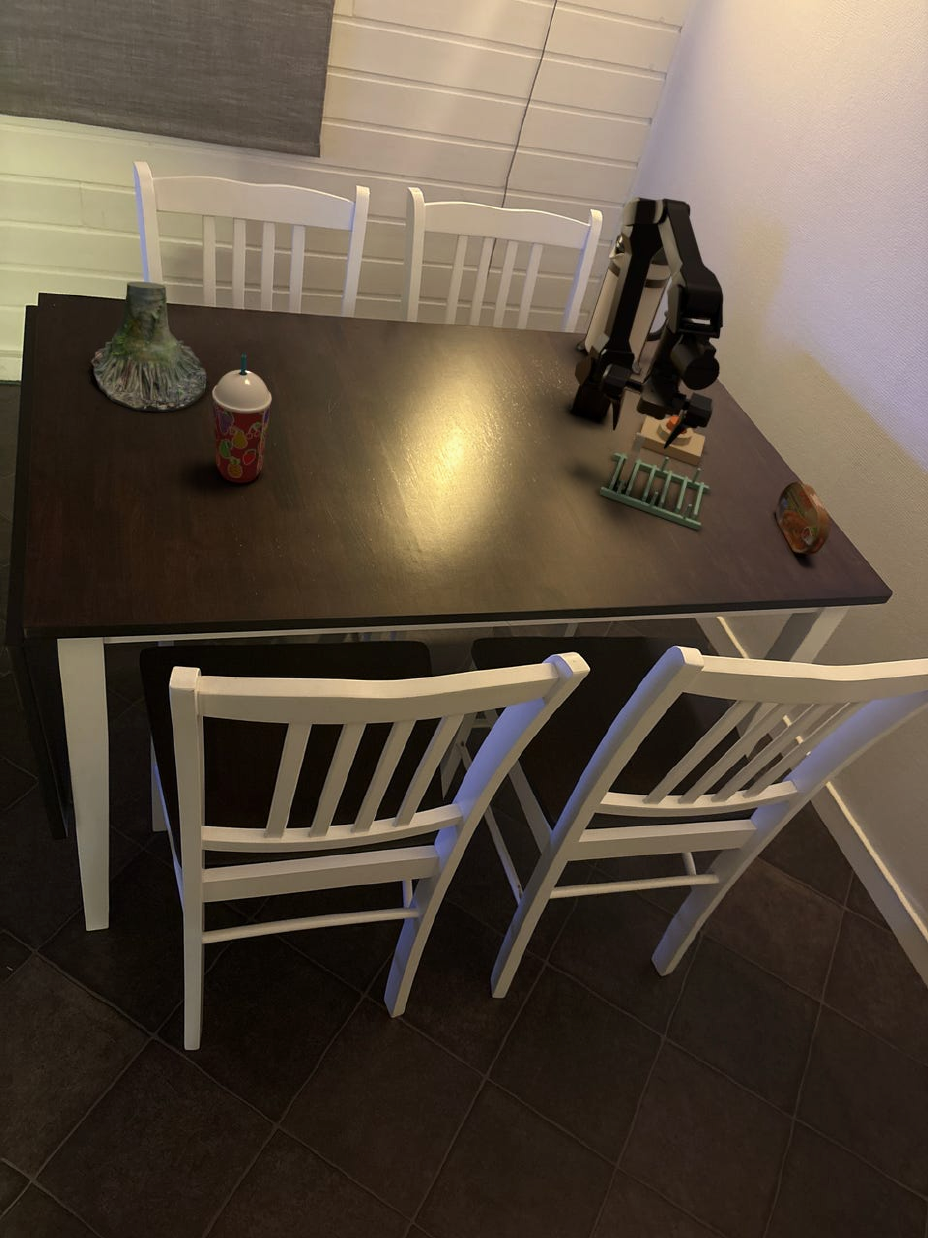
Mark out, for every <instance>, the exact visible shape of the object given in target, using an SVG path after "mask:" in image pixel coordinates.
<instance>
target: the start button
mask: <svg viewBox="0 0 928 1238" xmlns="http://www.w3.org/2000/svg"><path fill="white" fill-rule="evenodd" d="M669 418H670V420H669V422H668V425H667V428H668V429H669V430H670V431H671V430H672V429H673V427H674V425H675V423H676V422H677V420H678V418H679V416H670V417H669ZM685 431H686V430H685ZM685 431H683V432H682V433H681V434H684V433H685Z"/></svg>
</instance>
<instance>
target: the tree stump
mask: <svg viewBox="0 0 928 1238" xmlns="http://www.w3.org/2000/svg"><path fill="white" fill-rule="evenodd" d="M125 295H126V296H125V299H124V307H123V314H122V319H121V323H120V326H119V327H118V328H117V329H116V331H115V332H114V334H113V337H112V338H111V341H106V342H105V347H103V348H99V349H98V350H97V351H95V353H94V358H92V359H90V363H91V365H92V366H93V367H92V370H93V375H94V377H95V380H96V382H97V385H98V388H99V389H100V391H102V392H103V394H105V395H106V396H107V398H108V399H110V401H111V402H113V403H116V404H119V405H121V406H123V407H127V408H129V409H132V410H135V411H140V412H158V413H167V412H174V411H175V412H176V411H179V410H183V409H186V408H188V407H190V406H192V405H194V404H195V403H196V402H197V401H198V400H199V399H200V398H201V397H203V395H204V394H205V392H206V386H207V372H206V370H205V368H204V366H203V364H202V362H201V359H200V358H198V356H196V355H195V352H194V351H193V348H192V347H191V346H188V345H185V344H184V340H177V338H176V337H175V336H174V335H173V333H171V329H170V325H169V319H168V304H167V300H168V299H167V286H166V285H164V284H161V283H156V282H149V281H128V282H126V294H125Z"/></svg>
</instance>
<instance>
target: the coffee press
mask: <svg viewBox="0 0 928 1238" xmlns="http://www.w3.org/2000/svg"><path fill="white" fill-rule="evenodd" d="M624 254H625V247H624V243H623V240H622V236H621V233H619V234H618V235H617V236H616V239H615V242H614V246H613V248H612V250H611V251H610V252H609V255H608V259H609V263H608V266H607V269H606V273H605V276H604V279H603V281H602V285H601V287H600V291H599V293H598V298H597V300H596V303H595V306H594V309H593V312H592V315H591V319H590V321H589V325H588V328H587V331H586V333H585V337H584V338H583V339H582V340H580V341H579V342H578V343H577V344H576V349H577V350H578V351H583V350H586V352H587V353H588V354H589V352H590V349H591V346H592V344H593V343H594V342H595V341H596V340H597V339H598V338H599V337H600V336H601V335H602V334H603V333H604V330H605V326H606V323H607V319H608V315H609V311H610V307H611V304H612V300H613V296H614V292H615V288H616V285H617V281H618V277H619V273H620V269H621V266H622V262H623V258H624ZM670 279H671V272H670V269H669V265H668V261H667V257H666V254H665V250H664V246H663V247H662V248H661V250H660V251H659V252H658V253H657V254H656V255H655V256H654V257H653V258H652V260H651V264H650V267H649V271H648V275H647V278H646V282H645V285H644V289H643V292H642V296H641V300H640V303H639V307H638V310H637V314H636V317H635V321H634V325H633V328H632V332H631V335H630V339H629V342H630V346H631V349H632V352H633V353H634V354H635V360H634V362H633V365H632V373H634V374H636V375H638V374H640V373H641V372H642V370H643V366H642V363H641V358H642V354H643V353H644V349H645V347H646V345H647V343H648V342H649V343H652V342H657V341H659V340H660V338H661V335H662V333H663V330H664V327H665V325H666V322H667V318H666V317H665V320H664V322H663V324H662V325H661V327H660V328H659V329H658V330H655V331H654V332H651V330H652V329H653V325H654V322H655V320H656V317H657V314H658V312H659V309H660V307H661V303H662V301H663V298H664V297H665V293H666V291H667V287H668V286H669V282H670ZM583 342H584V345H585V346H583V347H582V346H581V345H580V344H581V343H583ZM636 363H637V366H638V369H639V370H637V369H636V366H635V365H634V364H636Z"/></svg>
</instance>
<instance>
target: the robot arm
mask: <svg viewBox="0 0 928 1238" xmlns="http://www.w3.org/2000/svg"><path fill="white" fill-rule="evenodd" d="M691 210H692V209H691V206H690V204H689V203H687V202H686V201H682V200H677V199H670V198H662V199H651V198H646V197H640V196H634V197H633V198H632V199H631V201H629V202H627V203H626V204H625V205H624V207H623V210H622V213H621V228H620V234H621V236H622V240H623V243H624V247H625V254H624V258H623V262H622V266H621V269H620V273H619V277H618V281H617V285H616V288H615V292H614V296H613V300H612V304H611V307H610V311H609V315H608V319H607V323H606V326H605V330H604V333H603V334H602V335H601V336H600V337H599V338H598V339H597V340H596V341H595V342H594V343H593V344H592V346H591V349H590V352H589V353H588V355H587V356H586V357H584V358H583V359H582V360H580V361H579V362H577V363H576V365H575V369H574V370H575V371H574V377H575V379H576V381H577V383H578V384H579V385H578V388H577V391H576V394H575V397H574V400H573V403H572V405H571V406H570V408H569V412H570V413H571V414H573V415H577V416H578V417H582V418H585V419H587V420H591V421H593V422H596V423H599V424H600V423H602V421H603V419H604V418H606V417H607V416H608V414H609V411H610V408H612V409H611V410H612V431H616V429H617V427H618V423H619V421H620V418H621V413H622V409H623V407H624V406H623V405H624V401H625V397H626V393H627V391H628V392H630V393H634V394H637V395H638V396H639V400H638V402H637V405H636V411H637V413H638V414H641V415H645V416H648V417H651V418H654V419H657V420H659V421H661V420H663V419H666V416H667V415H668V416H670V417H674V416H676V417H679V418H678V420H677V422H676V423H675V425H674V427H673V429H672V430H671V432H670V434H669V436H668V438H667V440H666V443H665V445H664V449H666V448H667V447H668V446H669V445H670V444H671V443H672V442H673V441H674V440H675V439H676V438H677V437H678V436H679V435H680V434H681V433H682V432H683V431H685V430H686V429H688V428H691V429H692V430H693V429H694V430H695V429H698V427H699V428H705V429H706V428H707V426H708V424H709V422H710V420H711V418H712V415H713V412H714V406H715V402H714V399H713V398H710V397H707V396H705V395H703V394H700V393H696V392H692V394H691V396H690V398H687V397H688V395H687V394H685V393H682V392H681V390H680V387H681V383H682V382H683V384H684V385H685V387H686V388H688V389H689V390H691V391H702V390H705V389H707V388H709V387H710V386H712V385H713V384H714V383H715V382H716V381H717V379H718V378H719V375H720V373H721V372H720V369H721V366H720V362H719V360H718V359H717V358H716V354H717V351H718V350H717V348H716V346H714V344H712V343H711V342H710V340H711V339H716V340H719V339H720V338H721V331H722V330H721V329H722V328H723V327H724V291H723V288H722V286H721V283H720V281H719V279H718V277H717V276H716V274H715V272H713V271H712V270H711V269H710V268H708V267H707V266H706V265H705V263H704V261H703V259H702V254H701V252H700V247H699V244H698V242H697V238H696V234H695V231H694V228H693V224H692V221H691ZM663 246H664V250H665V254H666V257H667V261H668V265H669V269H670V272H671V277H670V279H671V281H670V283H669V284H670V285H668V289H666V295H667V296H666V297H667V310H665V311H664V313H663V316H664V317H665V319H666V318H667V322H666V325H665V327H664V330H663V333H662V335H661V338H660V339H659V340H658V343H657V345H656V348H655V351H654V352H653V356H652V358H651V361H650V364H649V366H648V369H647V371H646V374H645V376H644V378H643V381H640V380H636V379H633V378H631V376H632V375H633V369H632V365H634V364H633V362H634V360H635V354H634V353H633V352H632V349H631V346H630V342H629V339H630V335H631V332H632V328H633V325H634V321H635V317H636V314H637V310H638V307H639V303H640V300H641V296H642V292H643V289H644V285H645V282H646V278H647V275H648V271H649V267H650V264H651V260H652V258H653V257H654V256H655V255H656V254H657V253H658V252H659V251H660V250H661V248H662V247H663ZM694 320H698V321H706V322H707V321H709V323H702V322H695V321H694Z"/></svg>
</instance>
